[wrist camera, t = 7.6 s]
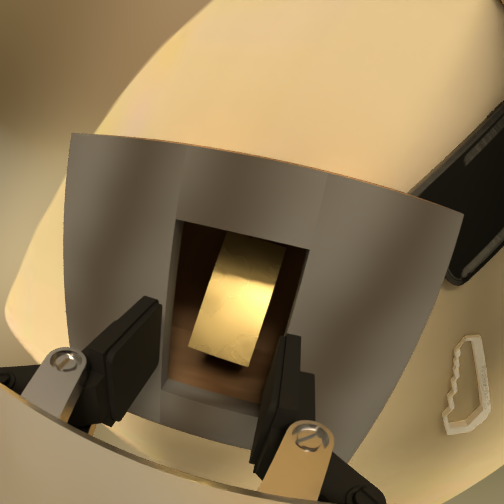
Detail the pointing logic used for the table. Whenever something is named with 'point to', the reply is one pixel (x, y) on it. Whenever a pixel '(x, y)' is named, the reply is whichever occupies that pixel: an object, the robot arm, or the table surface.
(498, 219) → the phone
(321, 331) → the box
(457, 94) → the table surface
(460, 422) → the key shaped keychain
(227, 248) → the wooden block
